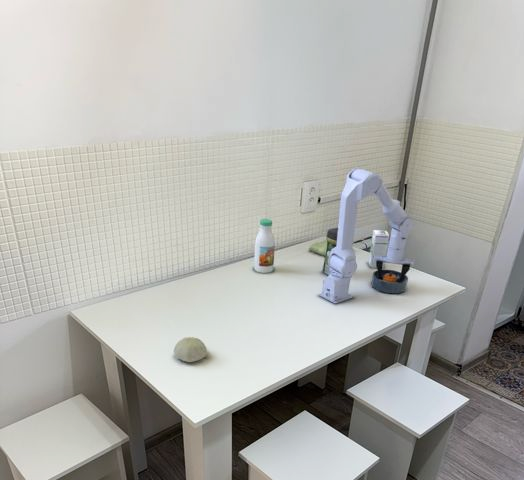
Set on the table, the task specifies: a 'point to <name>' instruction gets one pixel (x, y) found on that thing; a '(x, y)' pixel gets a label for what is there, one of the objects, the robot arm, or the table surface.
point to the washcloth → (319, 247)
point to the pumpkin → (389, 278)
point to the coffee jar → (330, 245)
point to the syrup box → (378, 246)
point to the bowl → (389, 286)
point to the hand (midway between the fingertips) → (389, 281)
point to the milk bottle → (264, 248)
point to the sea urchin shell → (190, 349)
